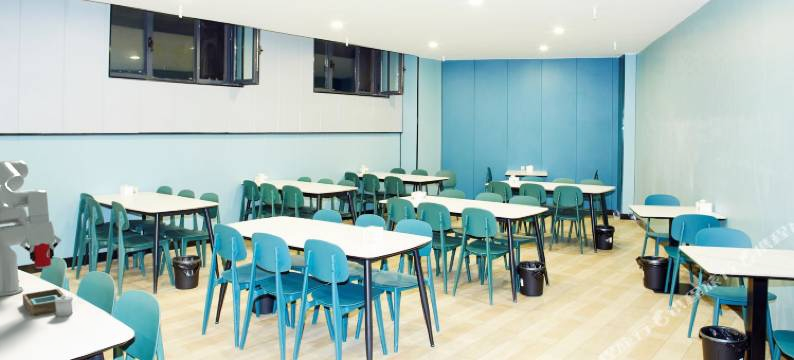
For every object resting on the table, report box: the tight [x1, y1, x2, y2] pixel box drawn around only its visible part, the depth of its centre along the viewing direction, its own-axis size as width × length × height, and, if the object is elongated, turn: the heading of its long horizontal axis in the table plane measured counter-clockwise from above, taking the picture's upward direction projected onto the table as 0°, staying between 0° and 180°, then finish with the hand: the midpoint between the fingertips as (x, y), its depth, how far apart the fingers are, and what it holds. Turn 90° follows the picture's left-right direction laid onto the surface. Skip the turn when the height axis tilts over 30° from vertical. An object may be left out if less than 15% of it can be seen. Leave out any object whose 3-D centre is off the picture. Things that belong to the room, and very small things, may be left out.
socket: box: [30, 295, 59, 305], centre depth 258 cm, size 10×10×2 cm
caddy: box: [22, 288, 65, 317], centre depth 258 cm, size 22×14×4 cm, turn 40°
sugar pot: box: [54, 294, 73, 318], centre depth 247 cm, size 7×7×8 cm
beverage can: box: [33, 243, 52, 269], centre depth 260 cm, size 6×6×12 cm
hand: (42, 259), depth 260 cm, fingers closed on beverage can, 6 cm apart
